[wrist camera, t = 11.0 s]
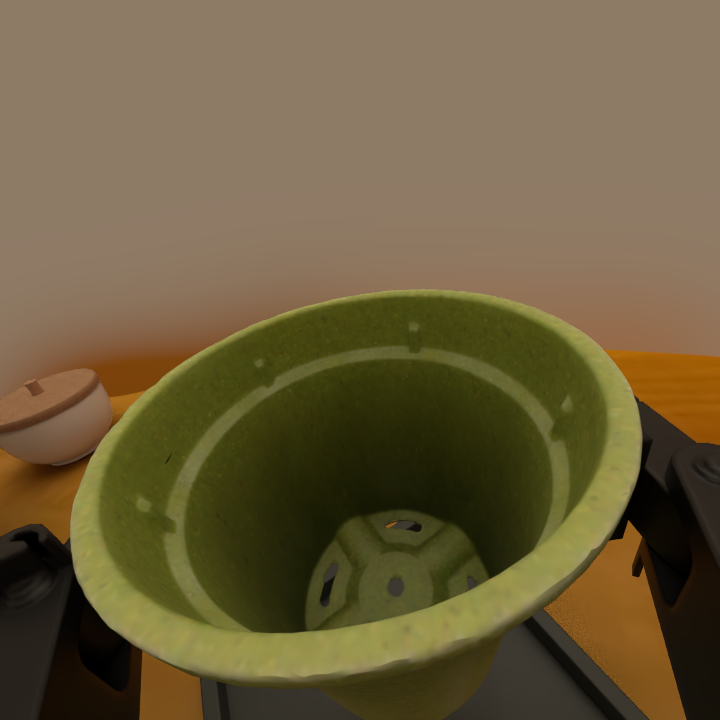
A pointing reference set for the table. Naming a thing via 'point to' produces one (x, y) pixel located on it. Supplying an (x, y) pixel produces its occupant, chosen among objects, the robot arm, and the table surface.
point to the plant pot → (359, 496)
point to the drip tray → (488, 703)
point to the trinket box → (55, 418)
